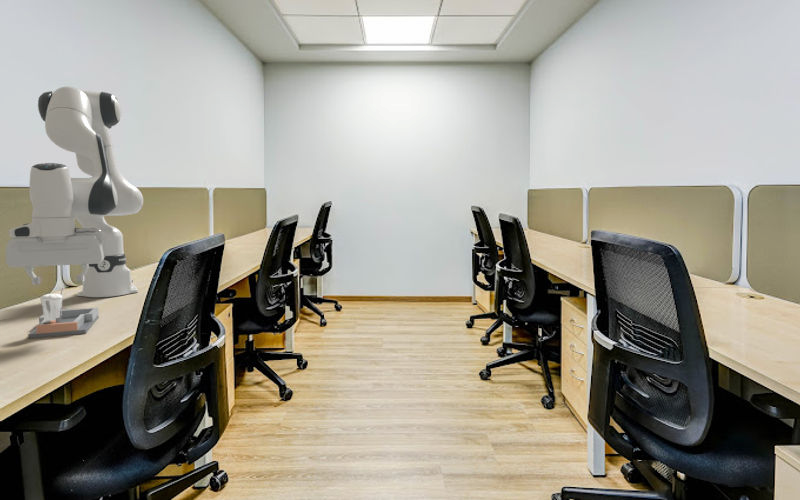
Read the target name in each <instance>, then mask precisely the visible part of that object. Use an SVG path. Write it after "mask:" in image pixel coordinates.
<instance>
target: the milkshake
mask: <svg viewBox="0 0 800 500" xmlns="http://www.w3.org/2000/svg"><path fill="white" fill-rule="evenodd" d="M63 291H64V288H63V287H62V288H61V290H60V293H59V294H58V293H47V294H43V295H41V297H40V298H39V299H40V304H41V310H42V315H43V316H44V322H45V324H54V323H62V310H63V295H62V294H63Z"/></svg>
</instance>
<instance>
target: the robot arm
mask: <svg viewBox="0 0 800 500" xmlns="http://www.w3.org/2000/svg"><path fill="white" fill-rule="evenodd" d="M37 110H38V112H39V116H40V118H41V120H42V121H43V122H44V127H45V133H46V135H47V137H48V138H49V140H50V141H51V142H52V143H53V144H55V145H56V146H57V147H59V148H61V149H63V150H64V151H67V152H71V153H75V157H76V163H77V166H78V168H79V170H80V172H83V173H84V174H86V175H88V176H91V177H71V174H70V171H69V168H68V167H69V166H67V165H65V164H63V163H54V162H45V163H37V164H34V165H32V166H31V168H30V172H29V200H30V202H31V205H32V213H31V223H25V224H22V225H19V226H17V227H13V228H10V229H9V230H8V235H9V237H10V239H9V240H8V241H7V243H6V246H5V264H6V265H7V266H8V267H9V268H24V272H25V273H26V274H27V275H28V277H29V278H31V279H30V280H31V284H32V286H33V285H41V283H42V280H41V275H40V276H37V275H36V274H35V272H34V270H35V267H53V266H55V267H56V266H76V265H80V269H82V271H81V272H80V274H78V273H77V275H76V276H75V277H76V282H77V283H82V291H79V292H77V296H78V297H87V298H110V297H119V296H123V295H127V294H128V295H129V294H133V293H134V294H135V293H138V292H139V289H138V287H137V286H136V285H135V284H134V283H133V282H134V281H133V279H132V276H131V269H130V268H128V267H127V265H126V264H127V258H126V254H125V252H124V251H125V250H124V235H123V232H121V230H120V229H119V228H117V227H116V226H113V225H110V224H108V223H107V220H106V219H105V217H106V216H108V217H109V216H110V217H111V216H112V217H114V216H115V217H117V216H118V217H119V216H121V217H123V216H129V215H134V214H138V213H139V212H140V211H141V209H142V208H143V206H144V196H143V193H142V192H141V191H140V190H139V188H137V187H136V186H134V185H133V184H131V183H130V182H129V181H128V180H127V179H126V178H125V177H124V176H123V175H122V173H121V171H120V170H119V168H118V166H117V161H116V158H115V153H114V148H113V141H112V136H111V132H110V129H112V127H115V126H116V125H118V124H119V122H120V120H121V117H122V108H121V105H120V102H119V101H118V98H117V97H116V96H115V95H114V94H113V93H109V92H105V91H101V92H97V91H91V90H89V91H88V90H82V89H79V88H77V87H73V86H61V87H59V88H57V89H56V90H52V91H45V92H43V93H41V95H40V96H39V97H38V100H37ZM76 221H77V222H78V223H79V224H80V226H81V227H76Z"/></svg>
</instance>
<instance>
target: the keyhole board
mask: <svg viewBox="0 0 800 500" xmlns="http://www.w3.org/2000/svg"><path fill="white" fill-rule="evenodd" d="M99 318H100V317H99V306H98V307H86V308H85V307H83V308H73V309H72V308H71V309H69V308H68V309H62V323H54V324H45V322H44V316H43V314H42V315H41V316H39V317H38V324H37V325H36V328H34V329H33V330H32V331H30V332H29V333H28V334H27V337H28V339H38V338H50V337H51V338H52V337H62V336H63V337H64V336H71V335H82V334H83V335H85V334H87V333H88V331H89V330H90V329H91V328H92V327H93V325H94V324H95V323H96V322H97V320H98V319H99Z"/></svg>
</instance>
